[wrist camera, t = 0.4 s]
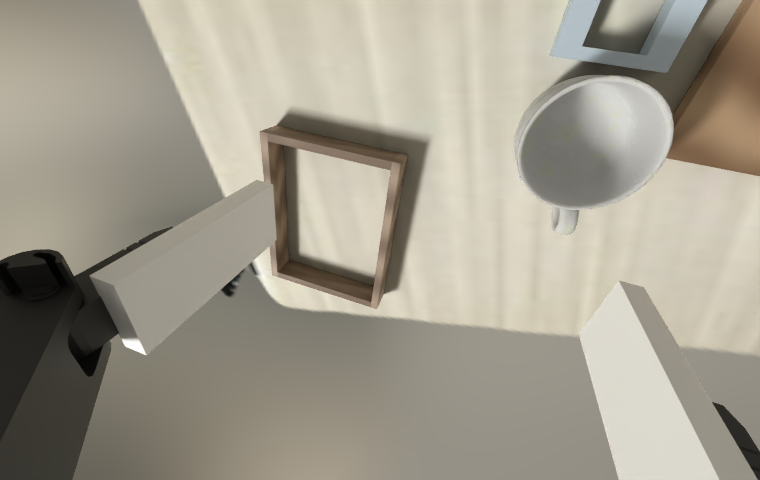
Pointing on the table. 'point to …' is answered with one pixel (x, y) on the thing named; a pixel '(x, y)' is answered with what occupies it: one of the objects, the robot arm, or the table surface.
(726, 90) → the boss board
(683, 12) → the blue post stand
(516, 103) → the table surface
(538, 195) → the teacup
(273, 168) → the open brown wooden frame
